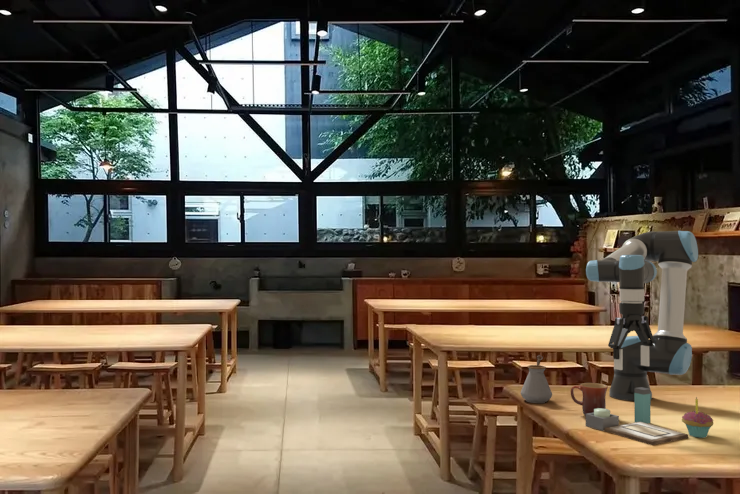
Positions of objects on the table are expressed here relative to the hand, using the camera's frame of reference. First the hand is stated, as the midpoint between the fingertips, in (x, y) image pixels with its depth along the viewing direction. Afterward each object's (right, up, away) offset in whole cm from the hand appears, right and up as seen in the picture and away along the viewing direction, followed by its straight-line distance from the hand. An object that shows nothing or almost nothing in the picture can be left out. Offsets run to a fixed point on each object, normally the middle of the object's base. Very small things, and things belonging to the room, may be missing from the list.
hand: (631, 367), depth 212 cm
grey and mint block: (+3, -18, -1) cm, 18 cm away
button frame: (-12, -18, -6) cm, 22 cm away
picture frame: (-2, -18, -15) cm, 23 cm away
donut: (+14, -18, -16) cm, 27 cm away
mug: (-11, -18, +9) cm, 23 cm away
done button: (-12, -16, -6) cm, 21 cm away
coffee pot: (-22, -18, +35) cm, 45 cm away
